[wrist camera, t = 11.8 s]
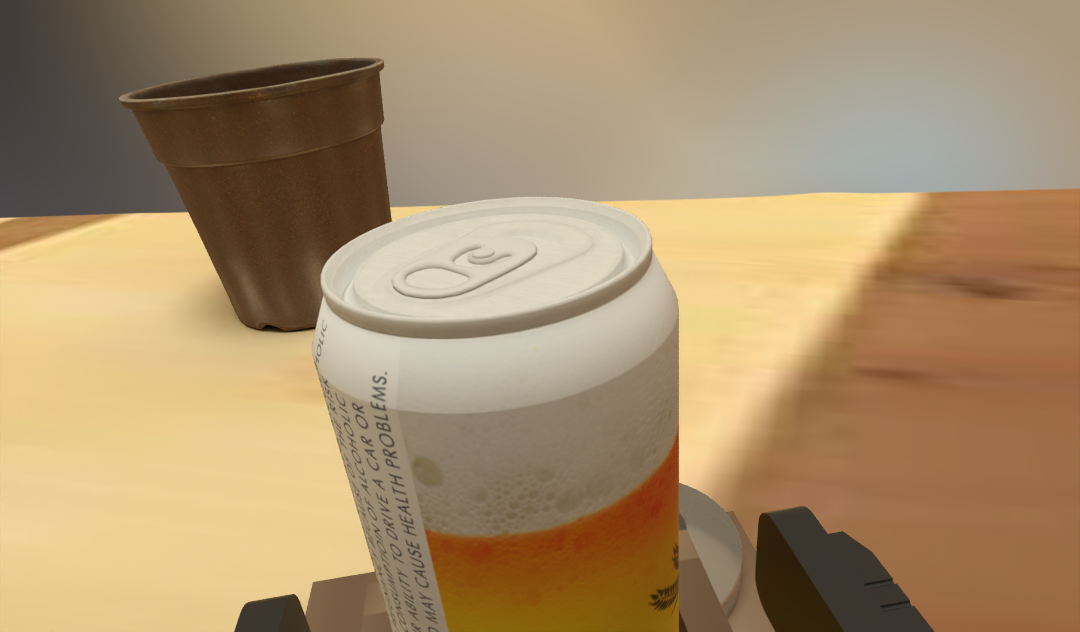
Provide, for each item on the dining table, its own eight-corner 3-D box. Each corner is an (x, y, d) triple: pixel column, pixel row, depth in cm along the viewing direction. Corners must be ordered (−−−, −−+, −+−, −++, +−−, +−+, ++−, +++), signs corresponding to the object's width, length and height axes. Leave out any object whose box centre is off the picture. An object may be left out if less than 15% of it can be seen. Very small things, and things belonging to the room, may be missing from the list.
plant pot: (236, 377, 40) (138, 103, 33) (183, 301, 52) (103, 88, 44) (463, 292, 48) (425, 58, 41) (372, 243, 60) (331, 55, 53)
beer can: (722, 759, 17) (750, 216, 11) (576, 1001, 13) (475, 388, 7) (551, 633, 21) (492, 177, 14) (400, 793, 17) (223, 272, 11)
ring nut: (574, 680, 20) (567, 623, 19) (546, 531, 26) (540, 480, 25) (771, 644, 21) (777, 586, 20) (701, 504, 26) (703, 454, 25)
